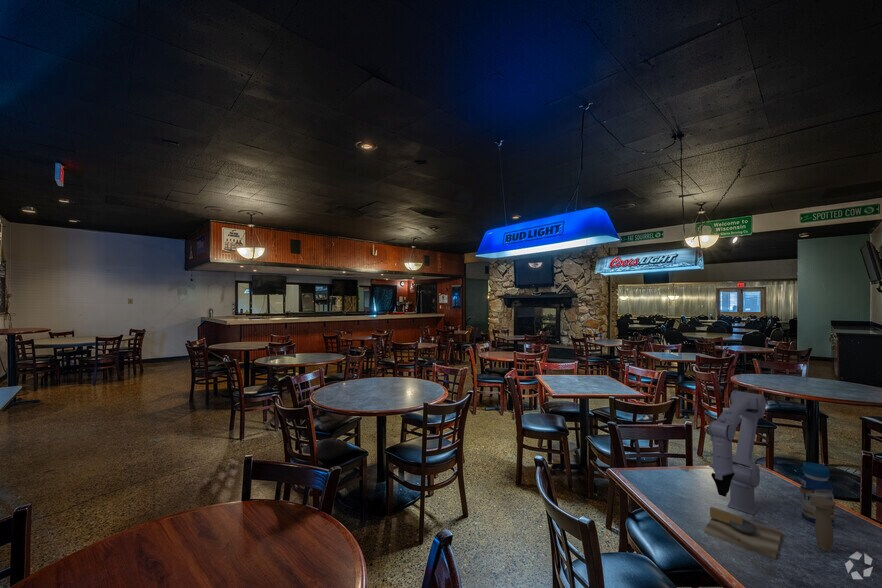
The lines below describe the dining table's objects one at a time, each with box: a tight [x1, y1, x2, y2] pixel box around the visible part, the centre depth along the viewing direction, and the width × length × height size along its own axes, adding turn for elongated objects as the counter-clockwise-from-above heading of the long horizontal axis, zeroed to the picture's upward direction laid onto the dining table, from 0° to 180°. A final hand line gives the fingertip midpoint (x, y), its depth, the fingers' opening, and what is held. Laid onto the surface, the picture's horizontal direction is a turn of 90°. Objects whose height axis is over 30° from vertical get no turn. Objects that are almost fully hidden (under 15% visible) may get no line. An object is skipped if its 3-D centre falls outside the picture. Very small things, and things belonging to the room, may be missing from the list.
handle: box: [811, 497, 836, 553], centre depth 116 cm, size 5×6×15 cm
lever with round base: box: [709, 506, 756, 533], centre depth 126 cm, size 12×7×3 cm, turn 43°
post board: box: [704, 517, 783, 561], centre depth 124 cm, size 18×18×2 cm
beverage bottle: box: [799, 461, 835, 529], centre depth 131 cm, size 8×8×20 cm
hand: (723, 493), depth 133 cm, fingers open, 3 cm apart
